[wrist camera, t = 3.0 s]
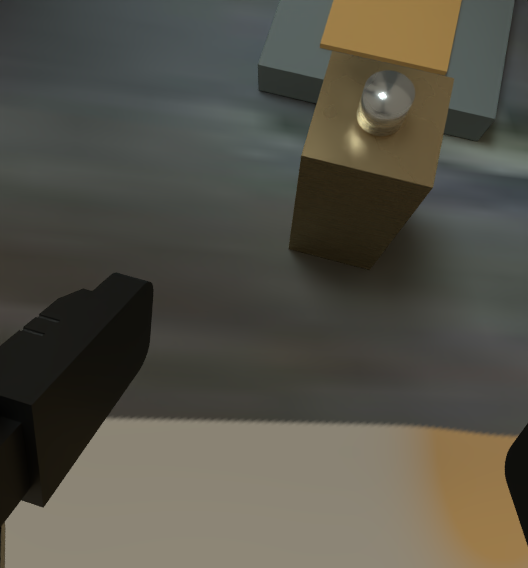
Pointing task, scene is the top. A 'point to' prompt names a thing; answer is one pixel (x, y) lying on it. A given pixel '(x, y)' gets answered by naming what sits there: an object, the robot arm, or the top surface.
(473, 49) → the press
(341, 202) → the block
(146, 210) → the top surface
